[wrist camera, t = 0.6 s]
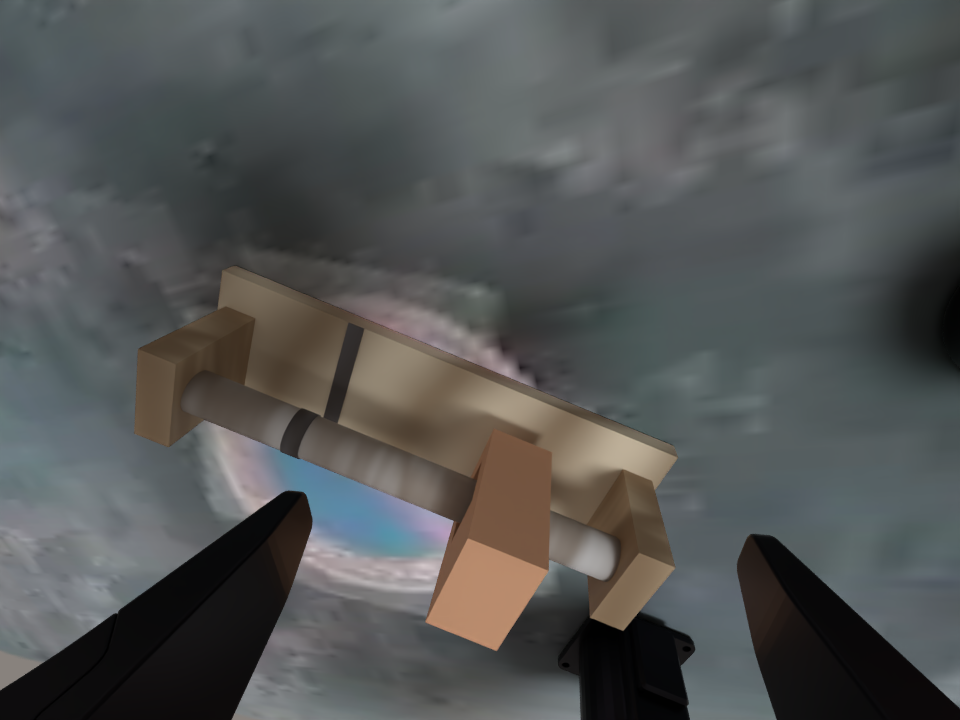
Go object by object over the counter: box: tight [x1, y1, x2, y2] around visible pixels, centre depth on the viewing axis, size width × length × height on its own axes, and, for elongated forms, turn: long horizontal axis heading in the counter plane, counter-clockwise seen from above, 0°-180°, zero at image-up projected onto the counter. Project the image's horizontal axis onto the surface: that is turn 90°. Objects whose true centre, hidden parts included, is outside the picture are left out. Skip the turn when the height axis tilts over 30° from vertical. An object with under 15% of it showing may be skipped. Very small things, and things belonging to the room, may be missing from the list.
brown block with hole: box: [425, 429, 552, 651], centre depth 21 cm, size 3×5×7 cm, turn 159°
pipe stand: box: [134, 266, 678, 631], centre depth 23 cm, size 24×8×6 cm, turn 69°
